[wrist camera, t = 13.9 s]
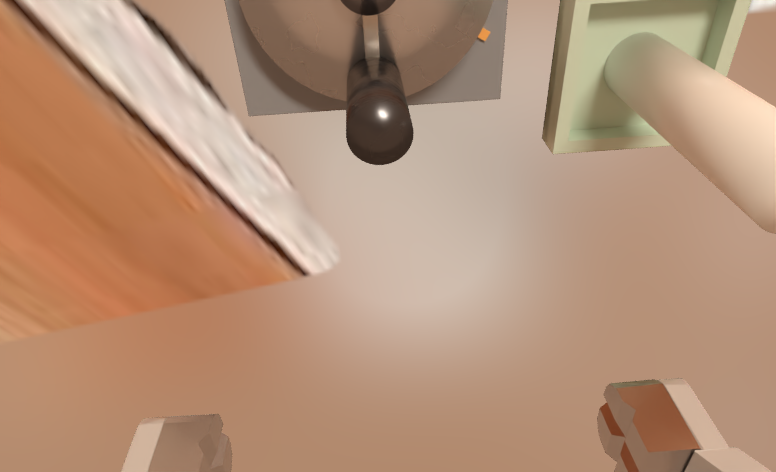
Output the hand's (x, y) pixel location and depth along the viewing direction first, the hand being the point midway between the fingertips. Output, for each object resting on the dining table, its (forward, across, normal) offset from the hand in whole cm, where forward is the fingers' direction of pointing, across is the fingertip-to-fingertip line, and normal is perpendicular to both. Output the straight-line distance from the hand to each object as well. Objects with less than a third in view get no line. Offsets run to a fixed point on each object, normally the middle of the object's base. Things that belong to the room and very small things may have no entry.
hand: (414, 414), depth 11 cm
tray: (+24, -15, +1) cm, 28 cm away
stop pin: (+23, -15, +1) cm, 27 cm away
